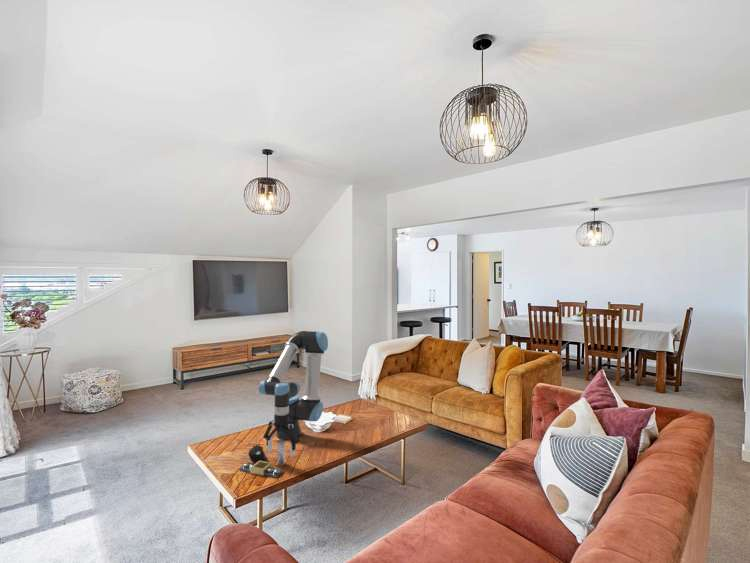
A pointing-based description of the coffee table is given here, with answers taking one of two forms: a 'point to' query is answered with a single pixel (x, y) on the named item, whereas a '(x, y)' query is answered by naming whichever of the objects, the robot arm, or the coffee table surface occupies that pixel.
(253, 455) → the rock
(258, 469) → the chain ends
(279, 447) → the pin
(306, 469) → the coffee table surface
